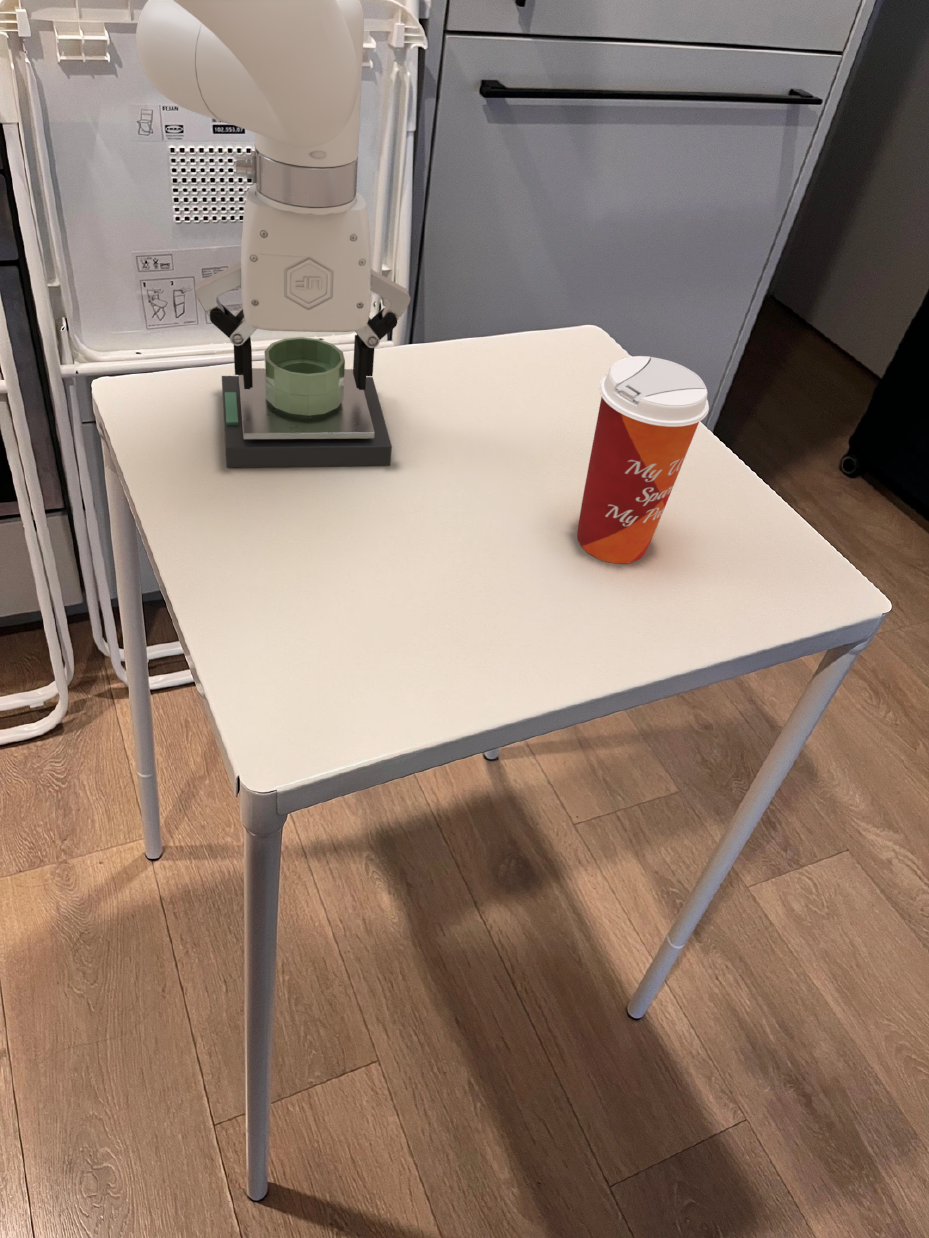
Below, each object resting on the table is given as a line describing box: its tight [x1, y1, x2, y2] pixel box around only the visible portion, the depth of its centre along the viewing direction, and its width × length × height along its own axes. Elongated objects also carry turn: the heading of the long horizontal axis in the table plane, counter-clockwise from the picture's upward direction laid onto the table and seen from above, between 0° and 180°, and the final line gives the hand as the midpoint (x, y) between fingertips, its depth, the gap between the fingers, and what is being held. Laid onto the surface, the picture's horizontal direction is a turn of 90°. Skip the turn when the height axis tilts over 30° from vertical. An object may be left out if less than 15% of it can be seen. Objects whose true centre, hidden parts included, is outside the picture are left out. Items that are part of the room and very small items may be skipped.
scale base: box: [221, 375, 393, 469], centre depth 85 cm, size 14×12×2 cm
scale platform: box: [237, 367, 375, 439], centre depth 84 cm, size 11×11×1 cm
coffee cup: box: [576, 355, 710, 564], centre depth 74 cm, size 8×8×15 cm
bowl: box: [263, 336, 346, 416], centre depth 82 cm, size 7×7×4 cm
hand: (304, 381), depth 83 cm, fingers open, 9 cm apart
